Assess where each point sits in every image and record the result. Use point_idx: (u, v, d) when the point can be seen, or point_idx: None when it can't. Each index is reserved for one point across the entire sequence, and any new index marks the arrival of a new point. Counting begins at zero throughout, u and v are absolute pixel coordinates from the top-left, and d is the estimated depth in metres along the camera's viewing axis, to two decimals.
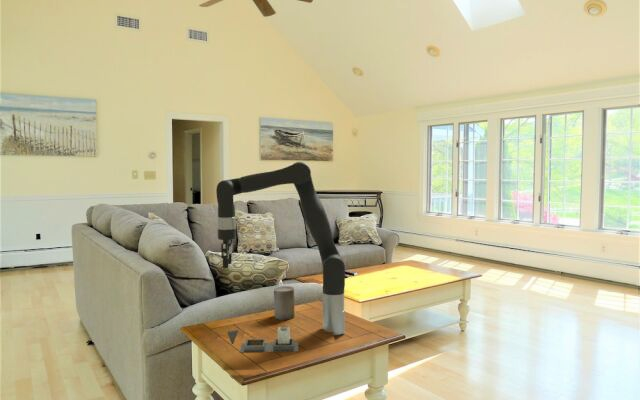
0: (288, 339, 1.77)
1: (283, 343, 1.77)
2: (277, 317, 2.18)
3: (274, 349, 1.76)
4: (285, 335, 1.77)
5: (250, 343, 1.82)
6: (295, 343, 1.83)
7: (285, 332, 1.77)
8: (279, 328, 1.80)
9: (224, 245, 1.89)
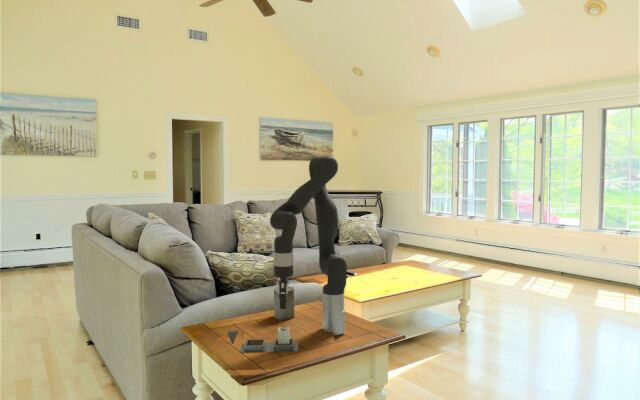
0: (288, 339, 1.77)
1: (283, 343, 1.77)
2: (277, 317, 2.18)
3: (274, 349, 1.76)
4: (285, 335, 1.77)
5: (250, 343, 1.82)
6: (295, 343, 1.83)
7: (285, 332, 1.77)
8: (279, 328, 1.80)
9: (282, 284, 1.71)
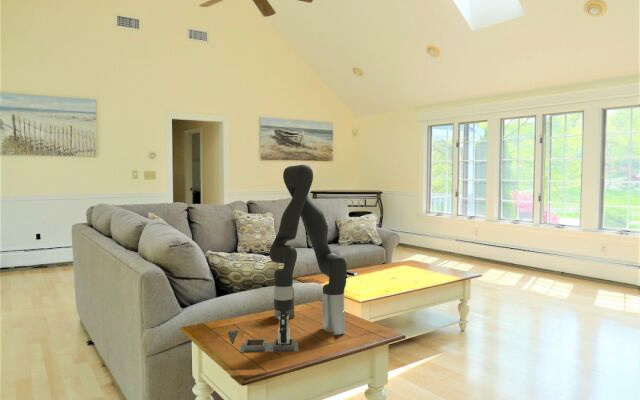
0: (288, 339, 1.77)
1: (283, 343, 1.77)
2: (277, 317, 2.18)
3: (274, 349, 1.76)
4: None
5: (250, 343, 1.82)
6: (295, 343, 1.83)
7: None
8: (279, 328, 1.80)
9: (283, 321, 1.72)
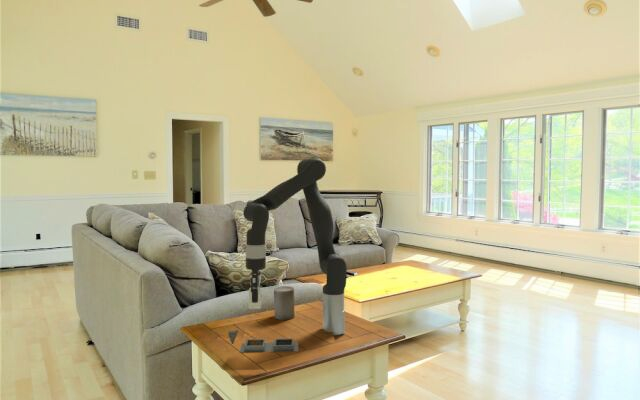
0: (259, 299, 1.75)
1: (254, 303, 1.75)
2: (277, 317, 2.18)
3: (274, 349, 1.76)
4: None
5: (250, 343, 1.82)
6: (295, 343, 1.83)
7: None
8: None
9: (254, 280, 1.71)
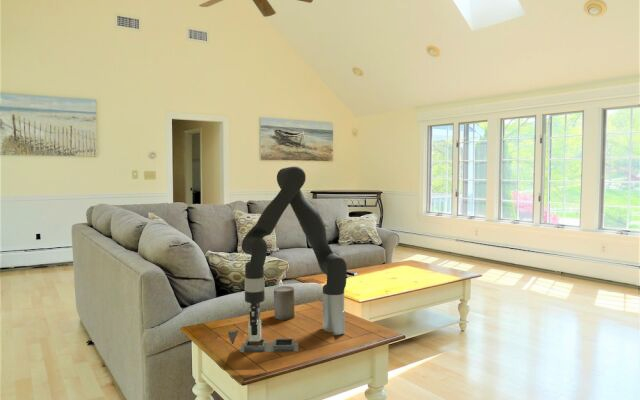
0: (259, 331, 1.77)
1: (253, 335, 1.77)
2: (277, 317, 2.18)
3: (274, 349, 1.76)
4: None
5: (250, 343, 1.82)
6: (295, 343, 1.83)
7: None
8: None
9: (253, 313, 1.72)
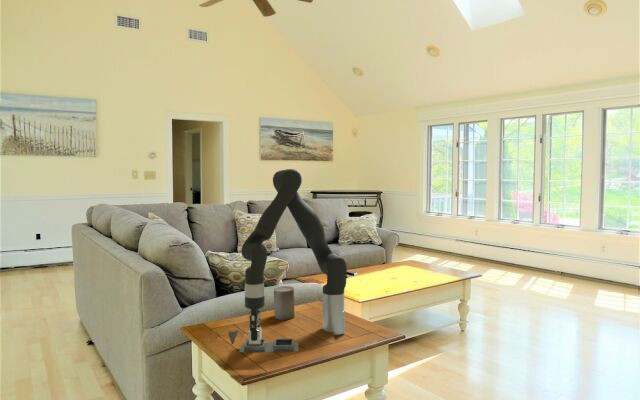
0: (259, 339, 1.77)
1: (254, 343, 1.77)
2: (277, 317, 2.18)
3: (274, 349, 1.76)
4: None
5: None
6: (295, 343, 1.83)
7: None
8: None
9: (253, 317, 1.72)
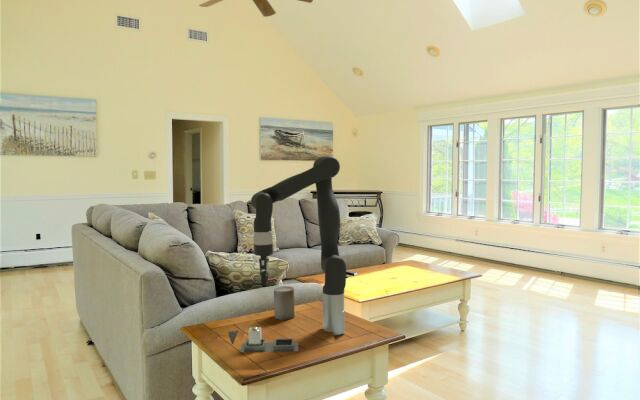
0: (259, 339, 1.77)
1: (254, 343, 1.77)
2: (277, 317, 2.18)
3: (274, 349, 1.76)
4: (256, 335, 1.76)
5: None
6: (295, 343, 1.83)
7: (256, 332, 1.76)
8: (250, 328, 1.79)
9: (263, 261, 1.79)
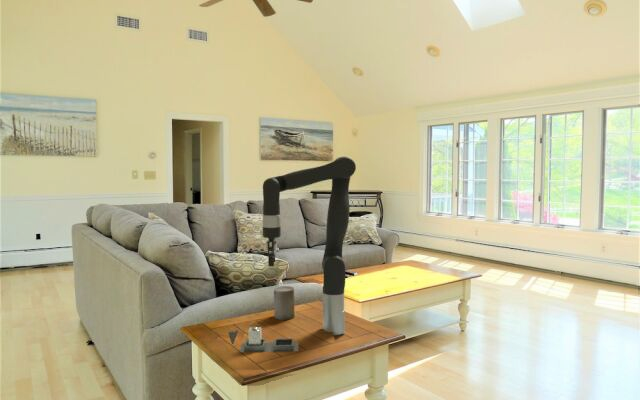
0: (259, 339, 1.77)
1: (254, 343, 1.77)
2: (277, 317, 2.18)
3: (274, 349, 1.76)
4: (256, 335, 1.76)
5: None
6: (295, 343, 1.83)
7: (256, 332, 1.76)
8: (250, 328, 1.79)
9: (270, 243, 1.88)
